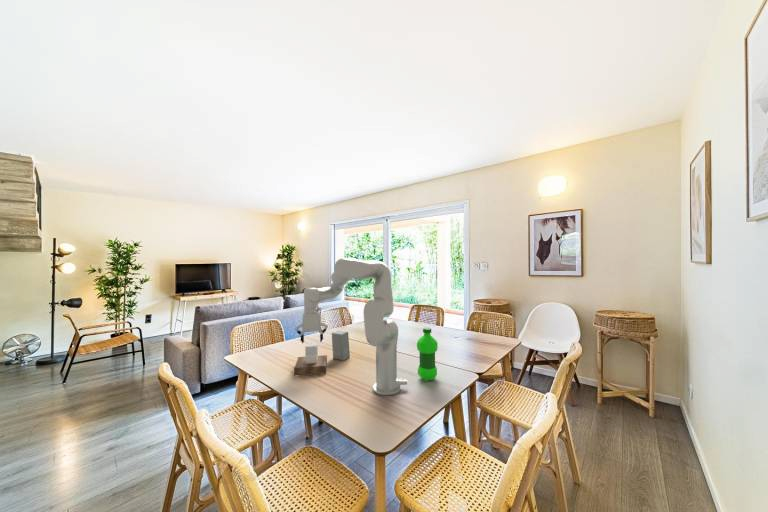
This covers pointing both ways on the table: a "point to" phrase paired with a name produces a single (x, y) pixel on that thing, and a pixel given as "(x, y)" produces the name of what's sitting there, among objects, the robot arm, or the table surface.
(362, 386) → the table surface
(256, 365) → the table surface
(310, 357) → the white rectangular block
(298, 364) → the walnut stand
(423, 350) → the plastic bottle
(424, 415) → the table surface
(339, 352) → the skincare box
